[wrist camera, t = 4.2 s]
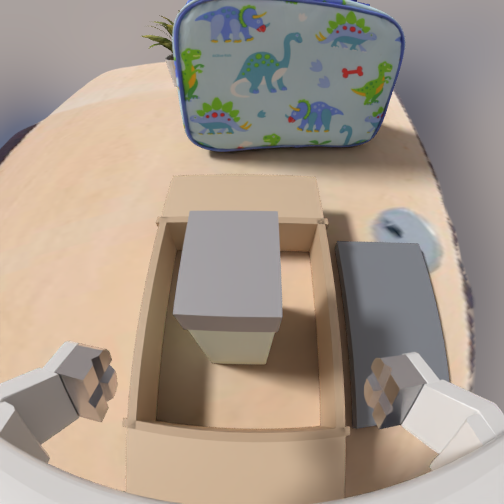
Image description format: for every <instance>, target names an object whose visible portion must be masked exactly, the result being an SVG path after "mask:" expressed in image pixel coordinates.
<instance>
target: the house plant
mask: <svg viewBox="0 0 504 504" xmlns="http://www.w3.org/2000/svg"><path fill="white" fill-rule="evenodd" d="M179 12H180V11H179ZM163 18H165V17H163ZM165 19H167V18H165ZM167 20H168V21H169V22H170V23H171V24H172V25H168V24H166V23H163V22H156V23H160V24H162V26H163V25H164V27H165V26H166V27H167V28H168V29H167V28H166V27H165V28H166V29H167V31H168V32H169V33H170V35H171V36H172V34H173V26H174V23H173V22H172V21H170V20H169V19H167ZM142 37H145V38H149V39H151V40H153V41H157V42H159V43H158V44H154V45H152V46H155V45H163V46H164V47H166V48H168V49H169V50H171V51H172V53H173V43H172V42H171V41H170V40H168V39H166V38H162V37H159V36H153V35H146V36H142ZM152 46H150V48H151V47H152ZM165 60H166V63H167V66H168V69H169V72H170V75H171V78H172V80H173V83H174V86H176V87H177V81H176V74H175V65H174V56H173V54H171V55H169V56H167V57H166V58H165Z"/></svg>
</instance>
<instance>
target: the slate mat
mask: <svg viewBox="0 0 504 504" xmlns="http://www.w3.org/2000/svg"><path fill="white" fill-rule="evenodd" d="M335 252H336V258H337V264H338V270H339V277H340V284H341V291H342V298H343V306H344V314H345V323H346V332H347V342H348V353H349V365H350V379H351V397H352V425H353V428H356V429H358V428H364V427H369V426H375V425H377V424H376V422H375V420H374V418H373V416H372V413H373V411H374V409H373V408H372V407H370V406H368V405H367V402H366V400H365V396H364V385H365V382H366V379H367V378H368V377H369V376H370V375H371V374H372V373H373V371H372V369H371V366H372V363H373V361H374V360H375V359H376V358H378V357H386V356H394V355H402V354H405V353H411V352H416V353H418V354H419V355H420V356H421V357H422V358H423V360H424V361H425V362H426V363H427V365H428V366H429V367H430V368H431V370H432V371H433V372H434V373H435V375H436V376H437V377H438V378H439V380H445V381H448V382H449V374H448V366H447V358H446V352H445V346H444V340H443V334H442V329H441V324H440V319H439V315H438V310H437V306H436V302H435V298H434V294H433V290H432V286H431V282H430V279H429V275H428V272H427V268H426V265H425V262H424V258H423V255H422V252H421V249H420V246H419V244H417V243H385V242H349V241H337V243H336V246H335Z"/></svg>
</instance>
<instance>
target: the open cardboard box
mask: <svg viewBox="0 0 504 504" xmlns="http://www.w3.org/2000/svg"><path fill="white" fill-rule="evenodd" d="M190 211H278V223H279V242H280V251H303V252H309V254H310V263H311V273H312V283H313V294H314V305H315V318H316V332H317V347H318V365H319V389H320V426H316V427H303V428H284V429H236V428H217V427H204V426H193V425H184V424H176V423H169V422H162V421H156V413H157V398H158V385H159V374H160V363H161V354H162V345H163V336H164V328H165V321H166V313H167V306H168V299H169V293H170V286H171V280H172V274H173V268H174V262H175V257H176V251H177V250H183V244H184V238H185V233H186V228H187V222H188V217H189V212H190ZM156 224H157V226H158V230H157V234H156V238H155V242H154V246H153V251H152V255H151V259H150V264H149V268H148V273H147V278H146V283H145V288H144V293H143V298H142V304H141V309H140V315H139V321H138V327H137V334H136V340H135V347H134V355H133V363H132V371H131V380H130V390H129V402H128V416H127V418H123V427H127V434H126V492H128V493H132V494H136V495H140V496H144V497H149V498H154V499H159V500H164V501H170V502H176V503H183V504H313V503H320V502H326V501H332V500H338V499H343V498H344V490H345V455H346V437H345V436H349V435H350V426H345V399H344V379H343V364H342V351H341V340H340V329H339V319H338V310H337V302H336V294H335V286H334V278H333V271H332V264H331V258H330V251H329V245H328V239H327V233H326V230H327V227H328V225H329V224H328V219H327V218H324V216H323V211H322V205H321V200H320V195H319V190H318V185H317V180H316V177H313V176H293V175H257V174H215V175H179V176H173V177H172V180H171V183H170V186H169V190H168V193H167V197H166V200H165V204H164V207H163V211H162V215H161V217H157V221H156Z"/></svg>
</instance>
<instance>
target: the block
mask: <svg viewBox="0 0 504 504" xmlns="http://www.w3.org/2000/svg"><path fill="white" fill-rule="evenodd" d="M173 315H174V316H175V318H176V319H177V321H178V322H179V323H180V325H181V326H182V328H183V329H186V330H188V331H189V332H190V334H191V335H192V337H193V338H194V339H195V341H196V342H197V344H198V345H199V346H200V348H201V349H202V350H203V352H204V353H205V355H206V356H207V357H208V359H209V360H210V361H211V363H221V364H266V361H267V358H268V355H269V351H270V348H271V344H272V341H273V337H274V334H275V332H278V330H279V327H280V324H281V321H282V317H283V316H282V287H281V263H280V242H279V223H278V211H190V212H189V217H188V222H187V228H186V233H185V238H184V244H183V250H182V256H181V262H180V268H179V274H178V280H177V287H176V294H175V301H174V308H173Z"/></svg>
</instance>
